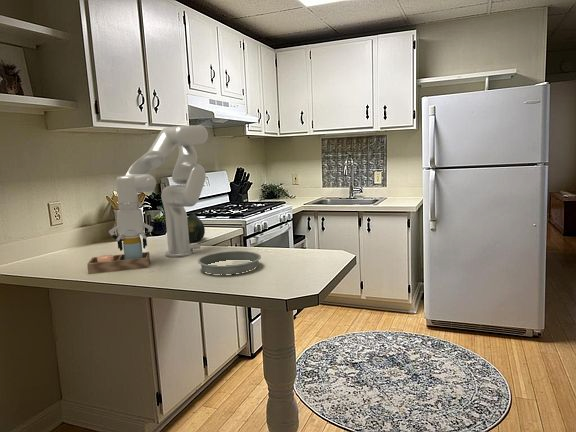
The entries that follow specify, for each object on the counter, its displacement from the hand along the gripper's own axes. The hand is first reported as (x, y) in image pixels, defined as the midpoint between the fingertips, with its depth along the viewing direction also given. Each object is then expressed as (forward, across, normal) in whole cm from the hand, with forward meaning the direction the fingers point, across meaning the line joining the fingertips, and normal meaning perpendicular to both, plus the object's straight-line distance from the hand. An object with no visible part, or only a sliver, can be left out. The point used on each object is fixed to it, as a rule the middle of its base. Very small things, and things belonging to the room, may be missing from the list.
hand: (133, 248), depth 180 cm
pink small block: (+7, +11, 0) cm, 13 cm away
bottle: (+7, 0, 0) cm, 7 cm away
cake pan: (+9, -37, +16) cm, 42 cm away
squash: (+8, -25, -48) cm, 54 cm away
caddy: (+8, +5, 0) cm, 10 cm away
